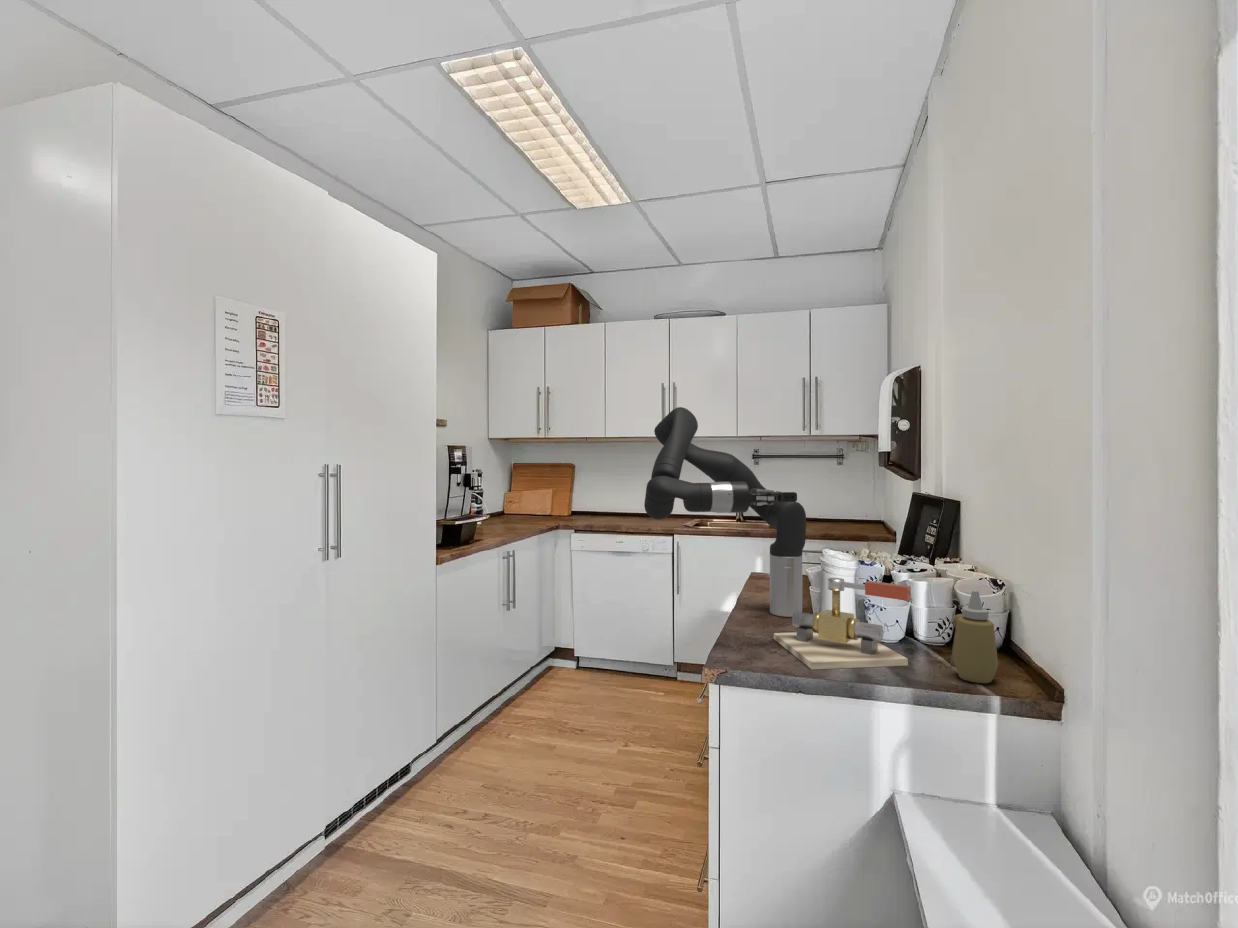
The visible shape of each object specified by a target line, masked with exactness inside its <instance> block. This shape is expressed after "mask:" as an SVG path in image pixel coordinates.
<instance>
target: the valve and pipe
mask: <svg viewBox="0 0 1238 928" xmlns="http://www.w3.org/2000/svg"><path fill="white" fill-rule="evenodd" d="M791 624H792V626H793V627H796V632H797V640H798V641H803V642H807V641H809V640H811V639H812V638H813V632H814V633H818V638H821V639H826V640H831V641H837V642H842V643H847V642H849V641H850V640H851V639H852V640H858V638H862V639H861V653H865V654H870V655H873V654H874V653H875V652H876V651H877V650H878V643H881V642H882V640H883V638H884V637H883V636H884V626H883V625H881V624H874V623H868V622H863V621H860V619H859V618H855V614H854V613H851V612H845V611H841V591H832V590H831V610H830V609H825V610H824V611H822V612H815V613H807V612H803V611H802V612H796V611H795V612H794V613H793V616H792V617H791Z"/></svg>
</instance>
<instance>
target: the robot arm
mask: <svg viewBox="0 0 1238 928" xmlns="http://www.w3.org/2000/svg"><path fill="white" fill-rule="evenodd" d="M698 427H699V424H698V420H697V418H696V416H695V415H694V414H693V412H692V411H690V410H689V409H688V408H685V407H681V406H678V407H676V408H673V409H672V410H671V411H670V412H669V413H667V415H666V416H665V417H664V418H663V419H662V420H661V421H660V422H658V424H657V425H656V426H655V427H654V430H653V432H654V435H655V437H656V440H658V441H659V443H660V444H661V445H662V448H661V449H660V451H659V453H658V454H657V457H656V458H655V460H654V464H653V468H652V471H651V476H650V479H649V481H648V482H647V484H646V486H645V487H646V489H645V497H644V510H645V513H646V515H648V516H649V517H650V518H651V519H653V520H664V519H666V518H668V517H669V516H670V515H671V514H672V512H673V510H674V505H675V500H676V499H680V500H682V503H683V507H684V508H685V510H686V511H688V512H691V513H714V514H715V513H716V514H726V513H727V514H729V513H731V514H736V513H737V514H738V513H743V514H744V513H747V512H748V511H749V508H751V509H752V510H753V511H754V512H755V513H756V514H757V515H758V516H759V517H760V518H761V519H762V520H763V522H765V523H766V524H767V525H769V526H770V527H771V528H773V529H774V530H776V536H775V540H774V542H773V543H771V544H770V545H769V613H770V614H771V615H775V616H779V617H788V618H789V617H790V618H792V616H793V613H794V612H795V611H796V612H802V613H803V550H804V547H805V545H806V535H807V534H806V533H807V514H806V510H805V508H804V506H803V505H802V504H801V502H798V501H797V500H798V493H797V492H796V491H795V492H794V491H789V492H788V491H779V490H776V491H774V490H771V489H767V488H766V487H765V486H764V485H762V484H761V482H760V481H759V480H758V478H757V476H756V475H755V474H754V472H753V471H752V470H751V469H750V468H749V467H748V466H747V465H746V464H744V463H743V461H741V460H740V459H738V457H736V456H734V454H731V453H727V452H724V451H720V450H719V451H718V450H712V449H707V448H702V447H699V446H697V445H695V444H693V443H692V441H693V439H694V437H695V435H696V433H697V431H698ZM684 461H687V462H688V463H689V464H691V465H693V466H694V467H695V468H696V469H698V470H700V471H701V472H702V473H703V474H704V475H706V476H707V477H709V479H711V480H712V481H713V482H690V481H686V480H682V479H680V477H681V474H682V473H681V472H682V468H683V465H684Z"/></svg>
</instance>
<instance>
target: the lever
mask: <svg viewBox="0 0 1238 928" xmlns="http://www.w3.org/2000/svg"><path fill="white" fill-rule="evenodd" d="M846 588H848V589H852V590H853V589H855V590H860V591H861V590H862V591H864V595H865V596H873V597H880V598H884V599H885V598H886V599H893V600H899V601H907V602H908V601H910V600H911V599H912V598H911V595H912V593H911V591H912V586H911V585H905V584H894V583H890V582H889V583H888V582H881V581H880V582H879V581H873V580H868V581H865V582H864V583H863V584H862V583H856V582H849V581H848V582H847V581H845V578H843V577H841V578H840V577H828V578H827V590H829V591H831V592H832V591H840V592H844V591H845V589H846Z"/></svg>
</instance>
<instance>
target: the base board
mask: <svg viewBox="0 0 1238 928" xmlns="http://www.w3.org/2000/svg"><path fill="white" fill-rule="evenodd" d="M861 639H862V638H858V640H852V639H851V640H850V641H849V642H847V643H842V642H837V641H831V640H826V639H821V638H818V633H814V631H813V638H812V639H811V640H809V641H807V642H803V641H798V640H797V631H795V632H792V631H791V632H774V633H773V641H775V642H776V643H778V644H779V645H780V646H782V648H784V649H785V650H786V651H788V652H789V653H790V654H791V655H792V656H794V657H795V658H796V659H798V660H799V661H800V662H801V663H802V664H804V665H805V666H807V667H808V668H809V669H811V670H833V669H835V670H836V669H855V668H856V669H858V668H879V667H880V668H881V667H907V666H909V663H908V662H909V659H908V657H905V656H904V655H902V654H900V653H898V652H896V651H894V649H891V648H890V647H887V646H886V645H884V644H882V643H881V642H878V650H877V651H876V652H875V653H874V654H873V655H870V654H865V653H861Z"/></svg>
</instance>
